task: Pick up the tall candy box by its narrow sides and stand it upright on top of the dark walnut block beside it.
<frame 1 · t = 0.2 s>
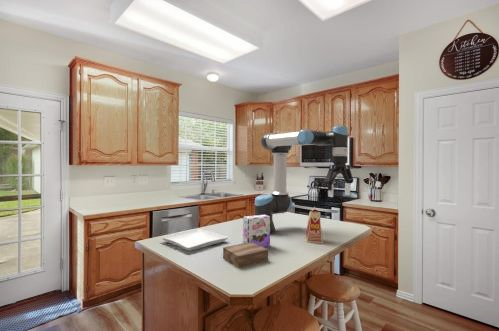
hand: (339, 196, 140), 28 cm above the counter, tool pointing down, fingers open, 13 cm apart
walnut block: (245, 259, 124), on the counter
candy box: (256, 247, 142), on the counter
milk carton: (314, 240, 155), on the counter
square plate: (194, 243, 149), on the counter
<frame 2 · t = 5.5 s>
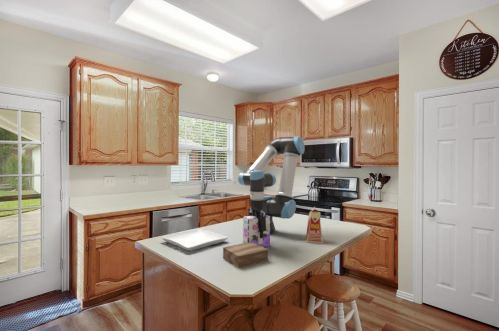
hand: (256, 242, 142), 2 cm above the counter, tool pointing down, fingers closed on candy box, 6 cm apart
candy box: (256, 247, 142), on the counter, touching gripper
everything else where it was.
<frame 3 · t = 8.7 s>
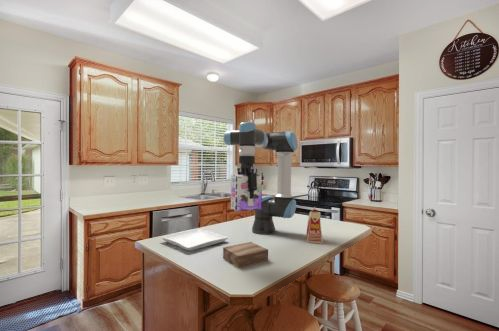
hand: (246, 204, 125), 25 cm above the counter, tool pointing down, fingers closed on candy box, 6 cm apart
candy box: (246, 210, 125), point 23 cm above the counter, touching gripper
everything else where it was.
when the fingers open (9 cm above the counter, at t = 12.0 s): candy box drops 1 cm, resting on walnut block.
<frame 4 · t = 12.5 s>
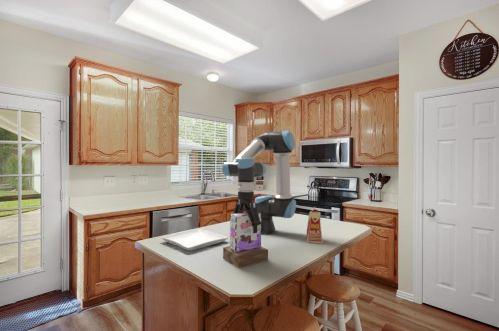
hand: (245, 236, 124), 11 cm above the counter, tool pointing down, fingers open, 13 cm apart
candy box: (245, 248, 124), point 5 cm above the counter, touching walnut block
everything else where it was.
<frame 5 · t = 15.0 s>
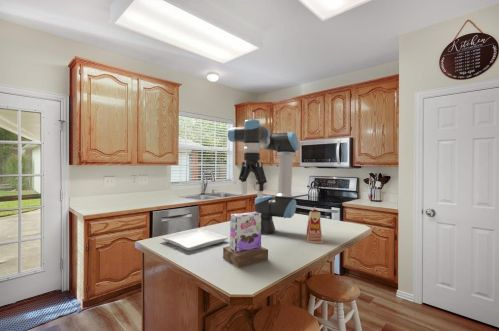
hand: (251, 196, 128), 29 cm above the counter, tool pointing down, fingers open, 13 cm apart
nothing on the counter moved.
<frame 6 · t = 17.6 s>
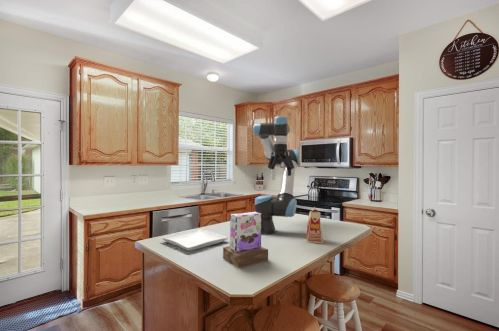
hand: (280, 180, 152), 35 cm above the counter, tool pointing down, fingers open, 13 cm apart
nothing on the counter moved.
at the end: candy box inside the target area on the walnut block (0.2 cm from its centre), point 4.8 cm above the walnut block's base; candy box tilted 0°; the gripper is holding nothing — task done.
